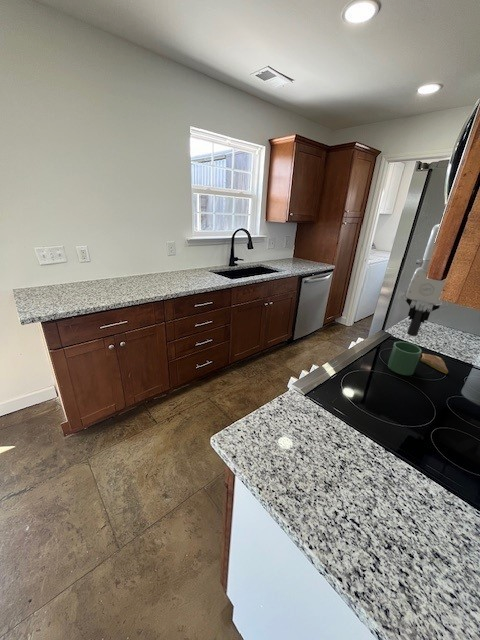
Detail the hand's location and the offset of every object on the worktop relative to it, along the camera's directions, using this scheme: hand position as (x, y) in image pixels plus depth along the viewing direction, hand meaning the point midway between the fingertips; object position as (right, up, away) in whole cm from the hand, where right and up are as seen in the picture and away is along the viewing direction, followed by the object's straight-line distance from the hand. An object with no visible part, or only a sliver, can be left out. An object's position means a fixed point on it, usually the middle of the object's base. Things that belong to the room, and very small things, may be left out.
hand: (417, 319), depth 90 cm
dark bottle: (0, -5, +2) cm, 6 cm away
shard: (+15, -17, +11) cm, 26 cm away
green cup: (-1, -18, +8) cm, 20 cm away
